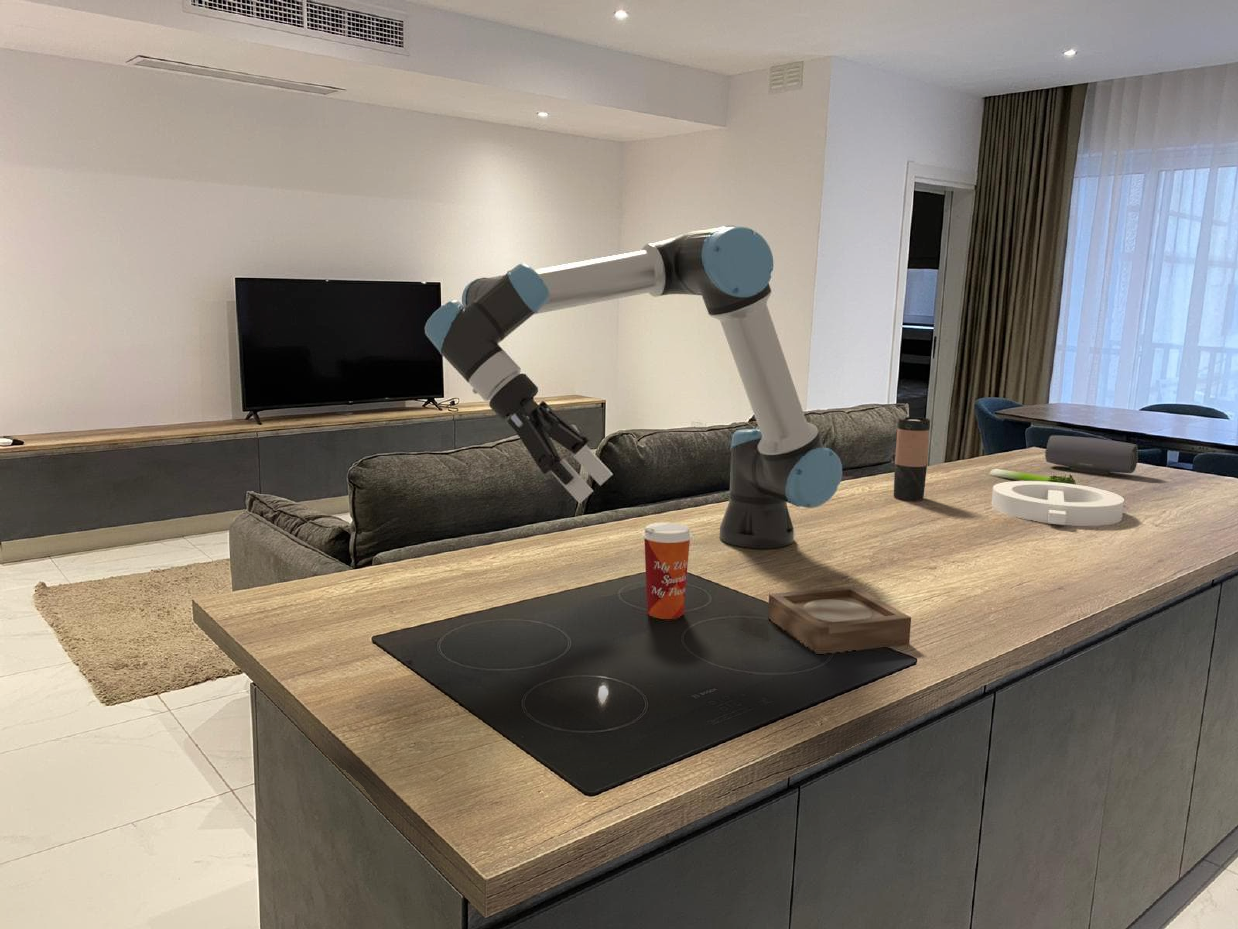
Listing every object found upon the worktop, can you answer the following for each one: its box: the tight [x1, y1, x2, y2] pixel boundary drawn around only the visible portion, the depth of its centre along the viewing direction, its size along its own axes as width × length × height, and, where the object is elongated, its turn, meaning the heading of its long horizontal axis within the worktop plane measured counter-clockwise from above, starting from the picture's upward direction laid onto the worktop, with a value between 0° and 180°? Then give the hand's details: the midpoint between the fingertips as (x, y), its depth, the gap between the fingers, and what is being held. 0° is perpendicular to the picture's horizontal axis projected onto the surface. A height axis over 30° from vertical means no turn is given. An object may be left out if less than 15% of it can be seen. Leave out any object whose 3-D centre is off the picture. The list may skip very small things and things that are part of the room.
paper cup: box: [641, 522, 693, 619], centre depth 140 cm, size 8×8×14 cm
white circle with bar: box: [990, 480, 1125, 527], centre depth 213 cm, size 28×28×5 cm
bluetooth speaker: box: [1044, 435, 1139, 475], centre depth 263 cm, size 23×9×10 cm, turn 46°
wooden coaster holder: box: [767, 585, 912, 655], centre depth 135 cm, size 15×15×4 cm
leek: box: [988, 468, 1077, 485], centre depth 242 cm, size 6×7×30 cm
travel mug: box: [893, 416, 931, 502], centre depth 224 cm, size 8×8×20 cm
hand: (597, 488), depth 139 cm, fingers open, 13 cm apart
